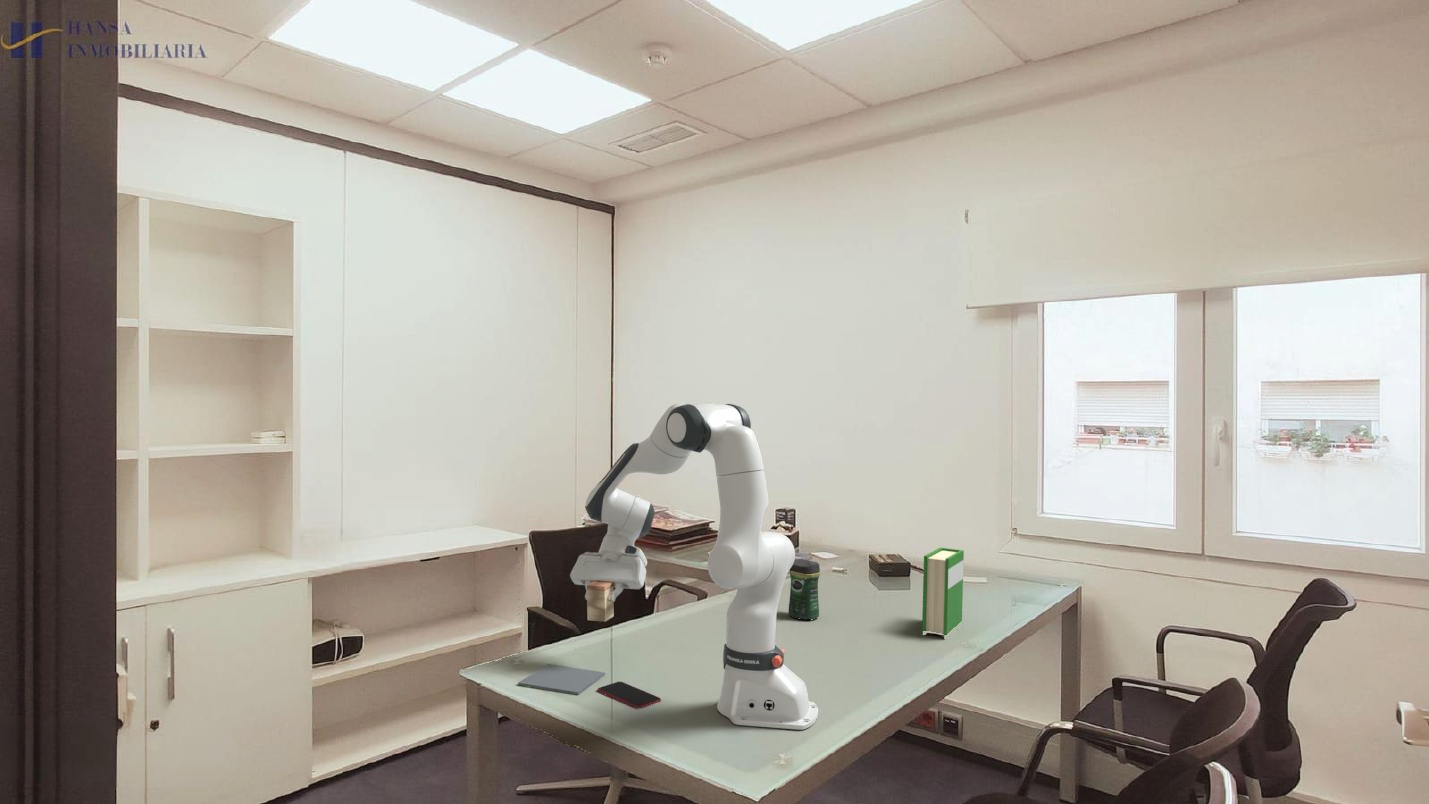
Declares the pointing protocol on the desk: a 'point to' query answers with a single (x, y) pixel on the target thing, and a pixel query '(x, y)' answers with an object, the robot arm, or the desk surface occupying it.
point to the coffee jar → (804, 589)
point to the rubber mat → (562, 679)
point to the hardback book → (942, 590)
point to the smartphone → (629, 694)
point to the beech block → (599, 601)
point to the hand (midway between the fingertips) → (599, 599)
